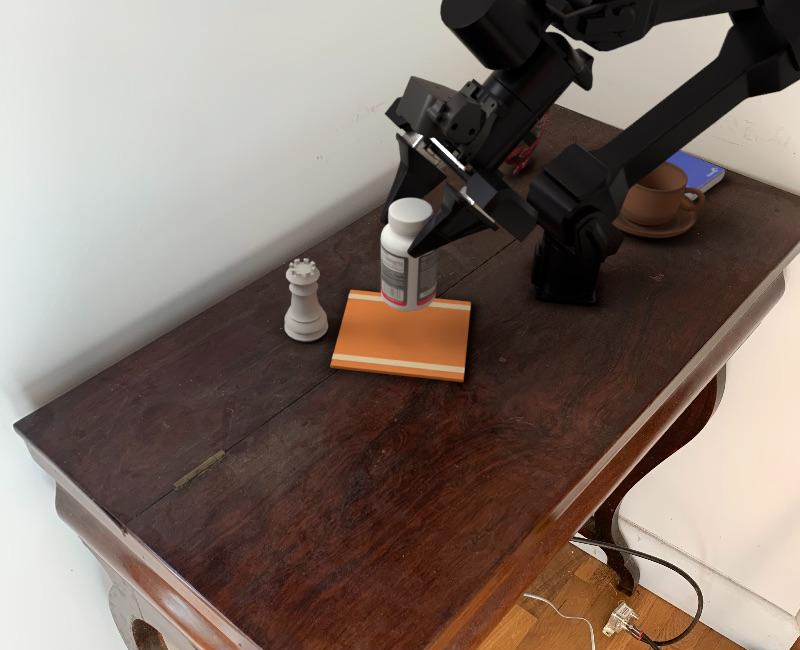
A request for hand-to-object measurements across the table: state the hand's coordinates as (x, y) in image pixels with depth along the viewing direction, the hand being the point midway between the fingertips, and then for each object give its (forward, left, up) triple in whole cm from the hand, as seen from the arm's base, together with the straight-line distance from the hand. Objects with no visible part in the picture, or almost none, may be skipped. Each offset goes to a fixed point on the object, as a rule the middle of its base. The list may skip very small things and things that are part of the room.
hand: (396, 238), depth 73 cm
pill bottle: (-1, -1, -7) cm, 7 cm away
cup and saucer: (-28, -27, -12) cm, 40 cm away
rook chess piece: (+9, 0, -12) cm, 15 cm away
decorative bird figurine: (-12, -34, -12) cm, 38 cm away
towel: (-1, -1, -12) cm, 12 cm away
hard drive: (-32, -39, -12) cm, 51 cm away
